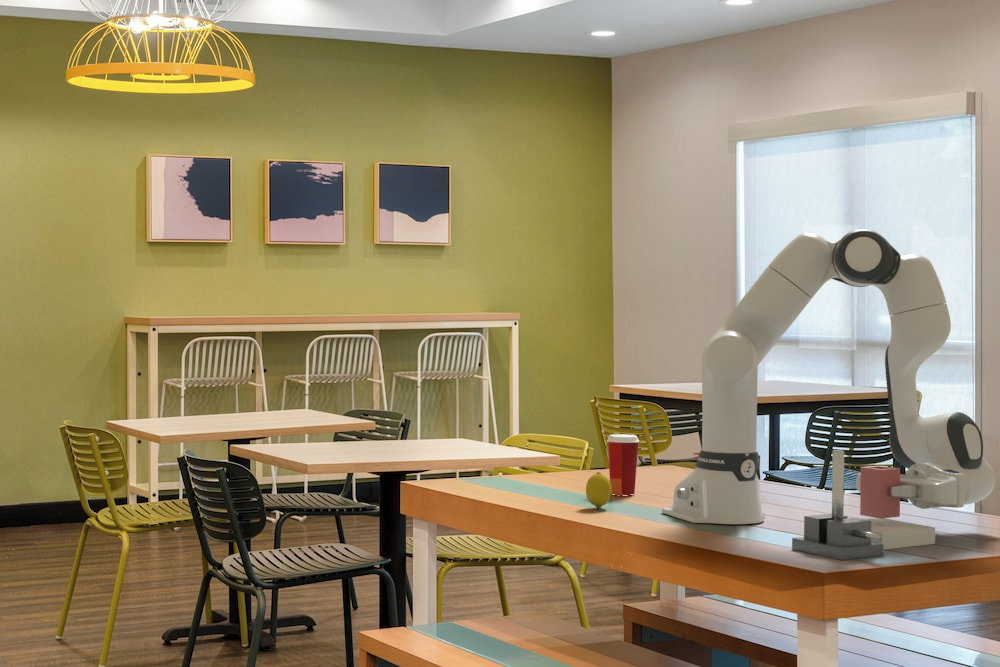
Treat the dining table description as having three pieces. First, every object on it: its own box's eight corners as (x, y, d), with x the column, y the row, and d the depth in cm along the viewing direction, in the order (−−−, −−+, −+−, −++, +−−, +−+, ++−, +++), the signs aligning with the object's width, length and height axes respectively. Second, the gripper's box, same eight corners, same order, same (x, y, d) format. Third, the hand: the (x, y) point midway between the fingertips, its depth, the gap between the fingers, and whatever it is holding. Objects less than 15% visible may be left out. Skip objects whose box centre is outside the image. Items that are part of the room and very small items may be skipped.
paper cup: (639, 493, 293) (640, 434, 293) (637, 497, 286) (638, 437, 286) (607, 492, 295) (607, 433, 295) (604, 496, 287) (604, 436, 287)
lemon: (601, 511, 263) (601, 474, 263) (580, 508, 267) (581, 471, 267) (616, 508, 267) (616, 472, 267) (596, 506, 271) (596, 469, 271)
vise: (792, 549, 220) (793, 448, 220) (832, 544, 226) (833, 446, 225) (858, 563, 207) (859, 457, 207) (899, 558, 212) (900, 454, 212)
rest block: (824, 537, 233) (824, 522, 233) (876, 532, 240) (876, 517, 240) (881, 549, 221) (881, 533, 221) (934, 543, 228) (935, 527, 228)
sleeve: (860, 515, 231) (860, 467, 231) (878, 513, 234) (879, 465, 234) (880, 518, 227) (881, 469, 227) (899, 516, 229) (900, 468, 229)
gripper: (885, 463, 246) (835, 466, 239) (971, 474, 228) (920, 478, 221) (885, 495, 246) (835, 499, 239) (971, 508, 228) (919, 513, 221)
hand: (876, 489), depth 230 cm, fingers closed on sleeve, 5 cm apart
